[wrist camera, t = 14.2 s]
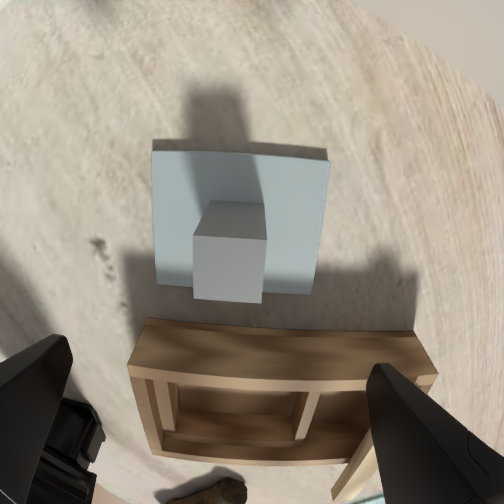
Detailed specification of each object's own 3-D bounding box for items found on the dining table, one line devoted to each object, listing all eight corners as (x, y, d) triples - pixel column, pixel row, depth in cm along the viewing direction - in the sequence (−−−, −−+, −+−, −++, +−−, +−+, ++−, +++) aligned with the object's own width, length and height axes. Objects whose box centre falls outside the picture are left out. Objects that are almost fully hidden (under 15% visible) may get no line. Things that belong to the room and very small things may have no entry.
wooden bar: (331, 489, 24) (332, 501, 23) (391, 385, 18) (398, 402, 16) (350, 487, 24) (352, 499, 23) (417, 383, 18) (425, 399, 16)
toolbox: (163, 411, 27) (152, 454, 22) (148, 317, 22) (126, 364, 18) (372, 418, 27) (384, 458, 22) (413, 330, 22) (438, 373, 18)
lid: (160, 276, 21) (129, 336, 15) (157, 149, 18) (111, 168, 12) (308, 287, 21) (325, 351, 15) (326, 159, 18) (360, 182, 12)
